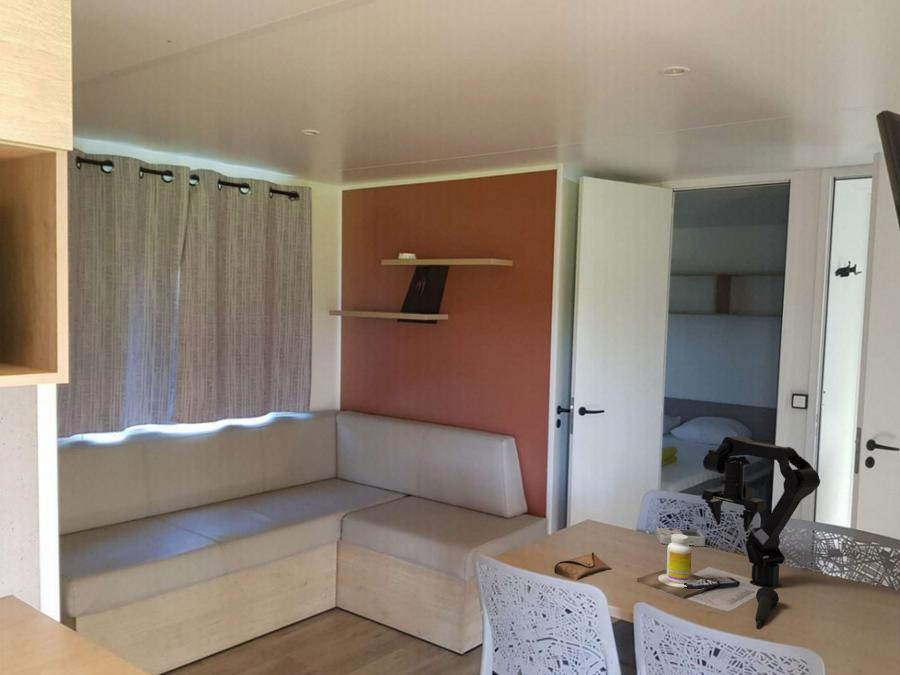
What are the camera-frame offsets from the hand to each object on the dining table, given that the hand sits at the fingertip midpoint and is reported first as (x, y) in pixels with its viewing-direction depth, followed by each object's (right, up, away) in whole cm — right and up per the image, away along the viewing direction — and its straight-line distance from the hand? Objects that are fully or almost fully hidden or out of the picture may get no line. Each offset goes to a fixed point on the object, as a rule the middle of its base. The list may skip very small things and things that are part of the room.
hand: (732, 527), depth 227 cm
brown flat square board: (-21, -13, -13) cm, 27 cm away
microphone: (-5, -15, -34) cm, 37 cm away
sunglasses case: (-46, -13, -4) cm, 48 cm away
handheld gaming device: (-7, -13, +28) cm, 31 cm away
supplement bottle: (-20, -12, -13) cm, 27 cm away
